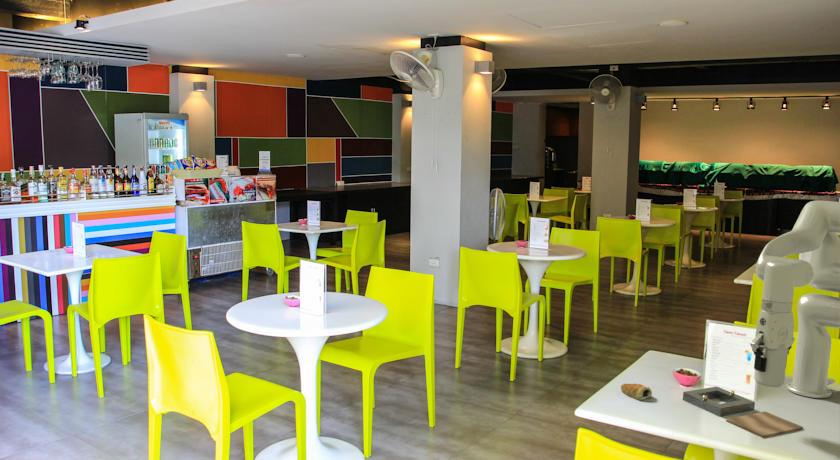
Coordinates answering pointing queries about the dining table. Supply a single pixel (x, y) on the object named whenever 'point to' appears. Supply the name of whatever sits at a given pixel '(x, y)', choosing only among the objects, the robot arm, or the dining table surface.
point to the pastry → (636, 391)
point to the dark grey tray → (731, 407)
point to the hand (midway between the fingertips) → (770, 368)
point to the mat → (764, 424)
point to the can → (773, 368)
